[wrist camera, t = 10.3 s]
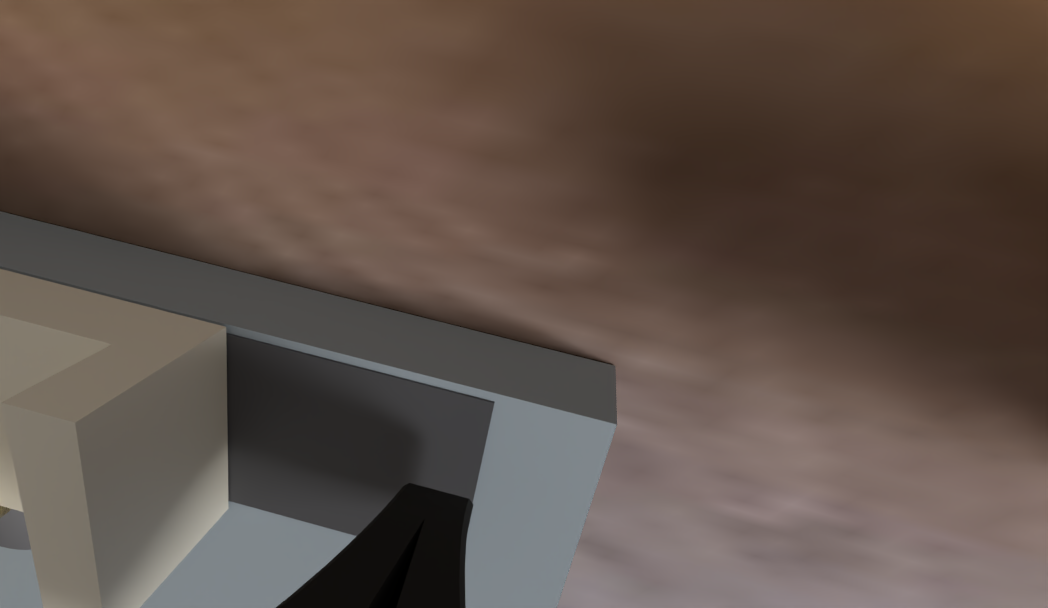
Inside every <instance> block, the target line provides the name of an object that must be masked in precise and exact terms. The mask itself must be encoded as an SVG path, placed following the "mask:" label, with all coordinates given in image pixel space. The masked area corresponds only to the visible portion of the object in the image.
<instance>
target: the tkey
mask: <svg viewBox="0 0 1048 608" xmlns="http://www.w3.org/2000/svg"><path fill="white" fill-rule="evenodd" d="M10 510H11V508H7V507H3V506H0V518H1V517H2V516H4V515H5V514H7V513H8V512H9V511H10Z"/></svg>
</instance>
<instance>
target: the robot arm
mask: <svg viewBox="0 0 1048 608" xmlns="http://www.w3.org/2000/svg"><path fill="white" fill-rule="evenodd" d="M472 509H473V503H472V502H471V501H470V499H469V498H465V497H461V496H457V495H454V494H450V493H446V492H442V491H439V490H435V489H431V488H427V487H424V486H420V485H416V484H412V483H408V484H406V485H404V486H403V487H402V488H401V489H400V491H399V492H398V493H397V494H396V495H395V497H394V498H393V499H392V500H391V501H390V502H389V503H388V504H387V506H386V507H385V508H384V509H383V510H382V511H381V512H380V513H379V514H378V515H377V516H376V517H375V518H374V519H373V520H372V521H371V522H370V523H369V524H368V525H367V526H366V528H365V529H364V530H363V531H362V532H361V533H360V534H358V535H357V536H356V537H355V538H354V539H353V540H352V541H351V542H350V543H349V544H348V545H347V546H346V547H345V548H344V549H343V550H342V551H341V552H340V553H339V554H337V555H336V556H335V557H334V558H333V559H332V560H331V561H330V562H329V563H328V564H327V565H326V566H324V567H323V568H322V569H321V570H320V571H319V572H317V573H316V574H315V575H314V576H313V577H312V578H310V579H309V580H308V581H307V582H306V583H305V584H303V585H302V586H301V587H300V588H299V589H298V590H296V591H295V592H294V593H293V594H292V595H291V596H289V597H288V598H287V599H286V600H284V601H283V602H282V603H281V604H279V605H278V606H277V607H276V608H466V606H465V556H466V541H467V533H468V528H469V523H470V519H471V514H472Z"/></svg>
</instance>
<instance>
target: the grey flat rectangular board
mask: <svg viewBox="0 0 1048 608" xmlns="http://www.w3.org/2000/svg"><path fill="white" fill-rule="evenodd" d="M0 269H3V270H7V271H11V272H15V273H19V274H23V275H26V276H30V277H34V278H38V279H42V280H46V281H50V282H54V283H58V284H61V285H65V286H69V287H73V288H77V289H81V290H85V291H89V292H93V293H96V294H100V295H104V296H108V297H112V298H116V299H120V300H124V301H128V302H131V303H135V304H139V305H143V306H147V307H151V308H155V309H159V310H163V311H166V312H170V313H174V314H178V315H182V316H186V317H190V318H194V319H198V320H201V321H205V322H209V323H213V324H217V325H221V326H225V327H226V346H227V427H228V508H229V509H228V510H227V511H226V512H225V513H224V514H223V515H222V516H221V518H220V519H219V520H218V521H217V522H216V523H215V524H214V525H213V526H212V528H211V529H210V530H209V531H208V532H207V533H206V534H205V535H204V536H203V538H202V539H201V540H200V541H199V542H198V543H197V544H196V545H195V547H194V548H193V549H192V550H191V551H190V552H189V553H188V554H187V555H186V557H185V558H184V559H183V560H182V561H181V562H180V563H179V564H178V566H177V567H176V568H175V569H174V570H173V571H172V572H171V573H170V574H169V576H168V577H167V578H166V579H165V580H164V581H163V582H162V583H161V584H160V586H159V587H158V588H157V589H156V590H155V591H154V592H153V593H152V595H151V596H150V597H149V598H148V599H147V600H146V601H145V602H144V603H143V605H142V606H141V607H140V608H276V607H277V606H278V605H279V604H281V603H282V602H283V601H284V600H286V599H287V598H288V597H289V596H291V595H292V594H293V593H294V592H295V591H296V590H298V589H299V588H300V587H301V586H302V585H303V584H305V583H306V582H307V581H308V580H309V579H310V578H312V577H313V576H314V575H315V574H316V573H317V572H319V571H320V570H321V569H322V568H323V567H324V566H326V565H327V564H328V563H329V562H330V561H331V560H332V559H333V558H334V557H335V556H336V555H337V554H339V553H340V552H341V551H342V550H343V549H344V548H345V547H346V546H347V545H348V544H349V543H350V542H351V541H352V540H353V539H354V538H355V537H356V536H357V535H358V534H360V533H361V532H362V531H363V530H364V529H365V528H366V526H367V525H368V524H369V523H370V522H371V521H372V520H373V519H374V518H375V517H376V516H377V515H378V514H379V513H380V512H381V511H382V510H383V509H384V508H385V507H386V506H387V504H388V503H389V502H390V501H391V500H392V499H393V498H394V497H395V495H396V494H397V493H398V492H399V491H400V489H401V488H402V487H403V486H404V485H406V484H408V483H412V484H416V485H420V486H424V487H427V488H431V489H435V490H439V491H442V492H446V493H450V494H454V495H457V496H461V497H465V498H469V499H470V501H471V502H472V503H473V509H472V514H471V519H470V523H469V528H468V533H467V541H466V556H465V606H466V608H557V605H558V602H559V599H560V596H561V593H562V590H563V587H564V584H565V581H566V578H567V575H568V572H569V569H570V565H571V562H572V559H573V556H574V553H575V550H576V547H577V544H578V541H579V538H580V535H581V532H582V529H583V526H584V523H585V520H586V517H587V514H588V511H589V508H590V505H591V502H592V499H593V496H594V493H595V490H596V486H597V483H598V480H599V477H600V474H601V471H602V468H603V465H604V462H605V459H606V456H607V453H608V450H609V447H610V444H611V441H612V438H613V435H614V432H615V429H616V426H617V411H616V374H615V366H614V365H610V364H606V363H602V362H598V361H594V360H590V359H586V358H582V357H578V356H574V355H570V354H566V353H562V352H558V351H554V350H550V349H546V348H542V347H538V346H534V345H530V344H526V343H522V342H518V341H514V340H510V339H506V338H502V337H498V336H494V335H490V334H486V333H482V332H478V331H474V330H470V329H467V328H463V327H459V326H455V325H451V324H447V323H443V322H439V321H435V320H431V319H427V318H423V317H419V316H415V315H411V314H407V313H403V312H399V311H395V310H391V309H387V308H383V307H379V306H375V305H371V304H367V303H363V302H359V301H355V300H351V299H347V298H343V297H339V296H335V295H331V294H327V293H323V292H319V291H315V290H311V289H307V288H303V287H299V286H295V285H291V284H287V283H283V282H279V281H275V280H271V279H268V278H264V277H260V276H256V275H252V274H248V273H244V272H240V271H236V270H232V269H228V268H224V267H220V266H216V265H212V264H208V263H204V262H200V261H196V260H192V259H188V258H184V257H180V256H176V255H172V254H168V253H164V252H160V251H156V250H152V249H148V248H144V247H140V246H136V245H132V244H128V243H124V242H120V241H116V240H112V239H108V238H104V237H100V236H96V235H92V234H88V233H84V232H80V231H76V230H72V229H68V228H65V227H61V226H57V225H53V224H49V223H45V222H41V221H37V220H33V219H29V218H25V217H21V216H17V215H13V214H9V213H5V212H1V211H0ZM0 608H43V604H42V599H41V594H40V589H39V585H38V580H37V575H36V570H35V565H34V560H33V556H32V551H31V546H30V541H29V536H28V531H27V527H26V522H25V517H24V512H21V511H18V510H14V509H11V510H10V511H9V512H8V513H7V514H5V515H4V516H2V517H1V518H0Z"/></svg>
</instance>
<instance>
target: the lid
mask: <svg viewBox="0 0 1048 608" xmlns="http://www.w3.org/2000/svg"><path fill="white" fill-rule="evenodd" d="M0 506H3V507H7V508H11V509H14V510H18V511H21V512H24V517H25V522H26V527H27V531H28V536H29V541H30V546H31V551H32V556H33V560H34V565H35V570H36V575H37V580H38V585H39V589H40V594H41V599H42V604H43V608H140V607H141V606H142V605H143V603H144V602H145V601H146V600H147V599H148V598H149V597H150V596H151V595H152V593H153V592H154V591H155V590H156V589H157V588H158V587H159V586H160V584H161V583H162V582H163V581H164V580H165V579H166V578H167V577H168V576H169V574H170V573H171V572H172V571H173V570H174V569H175V568H176V567H177V566H178V564H179V563H180V562H181V561H182V560H183V559H184V558H185V557H186V555H187V554H188V553H189V552H190V551H191V550H192V549H193V548H194V547H195V545H196V544H197V543H198V542H199V541H200V540H201V539H202V538H203V536H204V535H205V534H206V533H207V532H208V531H209V530H210V529H211V528H212V526H213V525H214V524H215V523H216V522H217V521H218V520H219V519H220V518H221V516H222V515H223V514H224V513H225V512H226V511H227V510H228V509H229V508H228V427H227V346H226V327H225V326H221V325H217V324H213V323H209V322H205V321H201V320H198V319H194V318H190V317H186V316H182V315H178V314H174V313H170V312H166V311H163V310H159V309H155V308H151V307H147V306H143V305H139V304H135V303H131V302H128V301H124V300H120V299H116V298H112V297H108V296H104V295H100V294H96V293H93V292H89V291H85V290H81V289H77V288H73V287H69V286H65V285H61V284H58V283H54V282H50V281H46V280H42V279H38V278H34V277H30V276H26V275H23V274H19V273H15V272H11V271H7V270H3V269H0Z"/></svg>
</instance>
